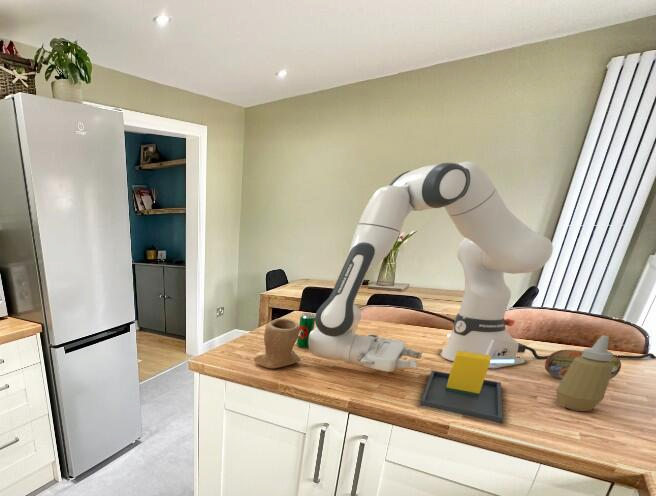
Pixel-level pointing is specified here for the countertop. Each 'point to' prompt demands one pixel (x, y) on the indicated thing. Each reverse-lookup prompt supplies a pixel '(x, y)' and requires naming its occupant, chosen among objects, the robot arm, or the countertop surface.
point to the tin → (564, 358)
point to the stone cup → (279, 344)
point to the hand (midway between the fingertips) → (419, 360)
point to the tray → (464, 398)
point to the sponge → (468, 373)
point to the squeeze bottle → (586, 378)
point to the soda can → (305, 329)
